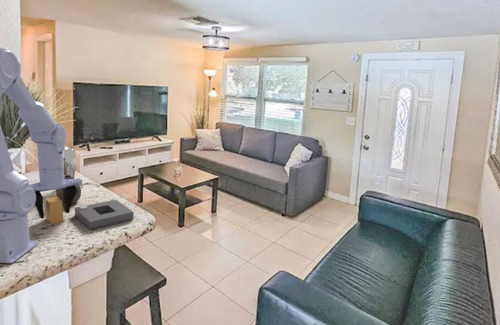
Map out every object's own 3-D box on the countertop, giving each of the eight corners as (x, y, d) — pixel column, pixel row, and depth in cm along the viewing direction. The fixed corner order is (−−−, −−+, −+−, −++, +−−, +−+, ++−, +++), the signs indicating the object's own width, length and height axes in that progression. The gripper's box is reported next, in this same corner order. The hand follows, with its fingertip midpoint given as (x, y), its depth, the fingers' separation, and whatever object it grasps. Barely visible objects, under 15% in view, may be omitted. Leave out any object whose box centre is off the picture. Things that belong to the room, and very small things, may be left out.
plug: (63, 221, 91) (62, 201, 89) (51, 224, 89) (49, 203, 87) (58, 216, 94) (57, 196, 92) (46, 218, 92) (45, 198, 90)
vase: (53, 206, 100) (51, 179, 98) (60, 198, 106) (58, 173, 104) (78, 206, 102) (77, 179, 100) (83, 198, 108) (82, 173, 106)
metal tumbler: (70, 193, 111) (68, 150, 108) (50, 192, 111) (47, 149, 108) (81, 187, 118) (79, 146, 114) (62, 185, 118) (59, 145, 114)
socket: (133, 219, 95) (133, 210, 95) (90, 230, 87) (90, 220, 86) (116, 206, 104) (115, 198, 103) (75, 215, 95) (74, 206, 95)
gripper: (75, 161, 95) (77, 204, 99) (15, 167, 85) (20, 215, 89) (84, 166, 91) (86, 212, 94) (21, 173, 81) (26, 224, 84)
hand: (54, 214), depth 91 cm, fingers open, 6 cm apart
